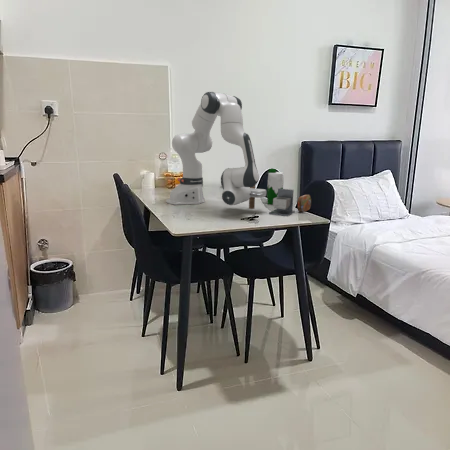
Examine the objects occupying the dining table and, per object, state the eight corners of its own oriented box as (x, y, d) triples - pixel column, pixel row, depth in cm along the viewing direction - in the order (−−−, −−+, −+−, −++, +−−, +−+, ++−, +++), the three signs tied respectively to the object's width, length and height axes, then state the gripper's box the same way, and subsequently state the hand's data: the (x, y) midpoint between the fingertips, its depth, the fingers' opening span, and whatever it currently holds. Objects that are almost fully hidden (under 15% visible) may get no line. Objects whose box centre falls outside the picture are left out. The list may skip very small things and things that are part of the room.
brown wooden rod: (250, 209, 220) (251, 175, 215) (247, 208, 222) (248, 175, 218) (255, 208, 221) (256, 175, 217) (252, 207, 224) (253, 174, 219)
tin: (301, 213, 211) (302, 197, 209) (295, 212, 213) (296, 196, 211) (311, 209, 224) (312, 193, 222) (306, 208, 225) (307, 193, 223)
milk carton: (267, 201, 243) (269, 168, 238) (282, 202, 241) (284, 168, 236) (266, 204, 234) (267, 169, 230) (281, 205, 232) (283, 170, 228)
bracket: (287, 216, 203) (289, 192, 200) (269, 214, 207) (270, 190, 205) (295, 212, 214) (296, 189, 211) (277, 210, 218) (278, 188, 215)
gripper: (261, 189, 202) (270, 185, 214) (224, 185, 211) (236, 182, 223) (260, 201, 204) (270, 197, 216) (224, 197, 213) (235, 194, 225)
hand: (252, 190), depth 220 cm, fingers open, 8 cm apart
